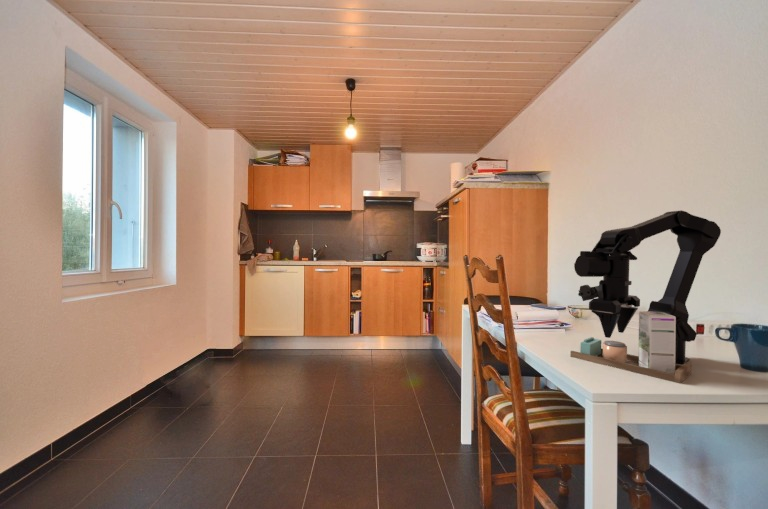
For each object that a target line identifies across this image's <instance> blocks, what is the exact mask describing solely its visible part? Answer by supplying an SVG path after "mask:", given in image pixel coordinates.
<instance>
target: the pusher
mask: <svg viewBox="0 0 768 509" xmlns="http://www.w3.org/2000/svg"><path fill="white" fill-rule="evenodd" d="M601 348H602V339H598V338H594V337H592V336H590V337H588V338H585V339H583V341H582V342H580V348H579V349H580V351H579V352H580V353H584V354H589V355H593V356H597V357H599V356H600V355H602V354H601Z"/></svg>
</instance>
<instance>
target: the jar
mask: <svg viewBox="0 0 768 509" xmlns="http://www.w3.org/2000/svg"><path fill="white" fill-rule="evenodd" d="M602 349H603V355H602V358H606V359H610V360H615V361H619V362H623V363H627V361H628V360H627V354H628V345H626V343H624V342H621V341H617V340H605V341H604V342H603V343H602Z"/></svg>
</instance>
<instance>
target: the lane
mask: <svg viewBox="0 0 768 509" xmlns="http://www.w3.org/2000/svg"><path fill="white" fill-rule="evenodd" d="M569 355H570V357H571V358H576V359H579V360H582V361H583V360H584V361H588V362H591V363H594V364H595V363H596V364H599V365H603V366H607V365H608V367H611V366H612V367H613V368H615V367H616V368H615V369H620V370H623V371H624V370H625V371H629V372H631V373H636V374H640V375H646V376H649V377H653V378H658V379H660V380H661V379H662V380H665V381H669V382H673V383H676V384H681V383H682V382H684V381H685V379H687V378H688V377H689V376H690V375H691V374H692V362H688V361H687V362H686V363H685V364H682V365H681V364H679V363H675V374H671V373H667V372H663V371H658V370H654V369H650V368H645V367H641V366H638V365H635V364H632V363H623V362H619V361H615V360H610V359H606V358H603V347H601V354H600V355H601V356H602V357H601V356H593V355H589V354H584V353H580V351H575V350H570V354H569ZM638 359H639V355H634V354H629V353H627V361H628V362H629V361H630V362H633V361H634V363H638Z"/></svg>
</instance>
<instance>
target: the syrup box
mask: <svg viewBox="0 0 768 509" xmlns="http://www.w3.org/2000/svg"><path fill="white" fill-rule="evenodd" d="M675 348H676V317H675V316H672V315H669V314H666V313H663V312H654V311H648V310H647V311H645V310H644V311H643V310H642V311H639V312H638V356H639V359H638V362H637V363H638V364H637V366H641V367H645V368H650V369H654V370H658V371H663V372H667V373H671V374H675V364H676V362H675Z"/></svg>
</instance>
